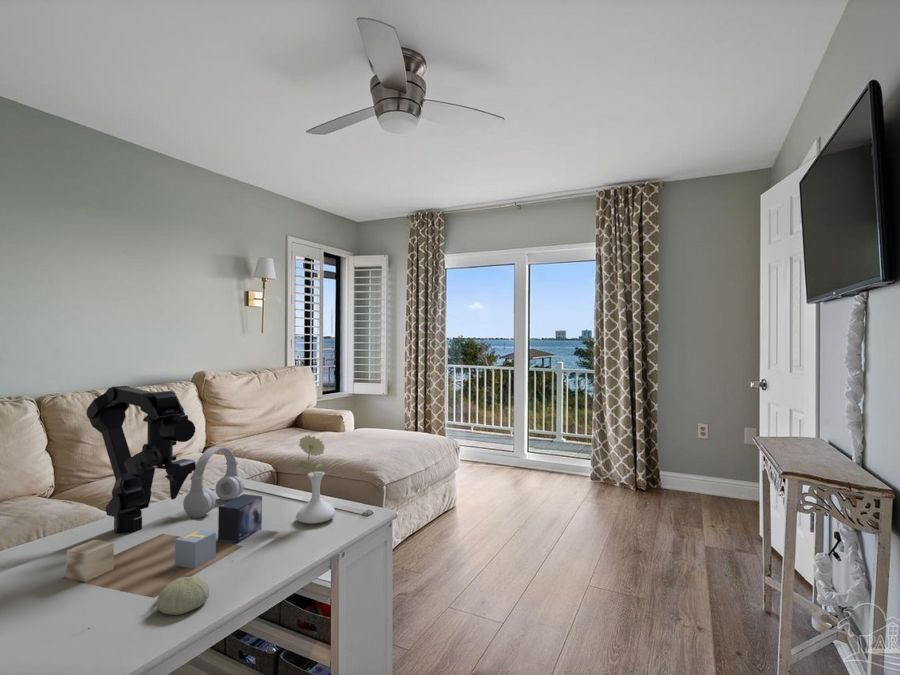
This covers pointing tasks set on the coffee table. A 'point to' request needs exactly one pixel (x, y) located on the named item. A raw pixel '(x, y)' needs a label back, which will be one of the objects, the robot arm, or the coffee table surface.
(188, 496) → the headphones
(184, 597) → the sea urchin shell
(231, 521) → the small box
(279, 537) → the coffee table surface
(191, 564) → the slate cube
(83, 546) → the birch cube
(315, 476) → the flower in vase
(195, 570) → the walnut board
